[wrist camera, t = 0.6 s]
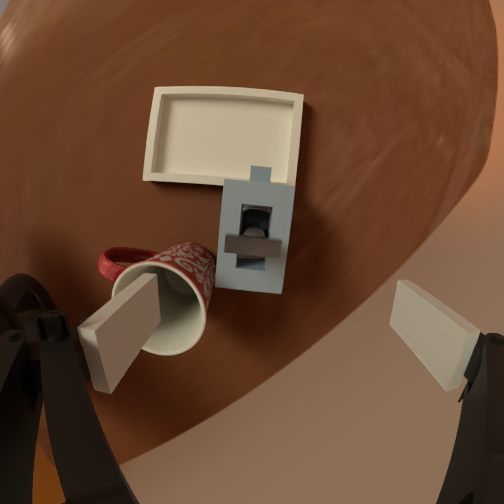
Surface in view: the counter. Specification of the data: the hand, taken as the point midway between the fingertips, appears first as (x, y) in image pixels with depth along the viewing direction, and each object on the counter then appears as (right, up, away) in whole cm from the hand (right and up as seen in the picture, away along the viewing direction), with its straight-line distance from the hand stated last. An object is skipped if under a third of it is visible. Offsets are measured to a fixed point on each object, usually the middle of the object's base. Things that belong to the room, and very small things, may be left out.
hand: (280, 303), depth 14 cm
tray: (-5, +17, +18) cm, 25 cm away
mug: (-11, +1, +22) cm, 25 cm away
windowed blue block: (-1, +5, +16) cm, 16 cm away
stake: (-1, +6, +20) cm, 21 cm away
